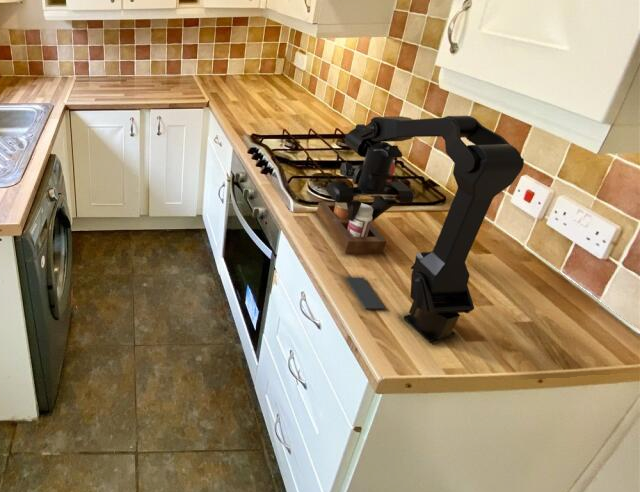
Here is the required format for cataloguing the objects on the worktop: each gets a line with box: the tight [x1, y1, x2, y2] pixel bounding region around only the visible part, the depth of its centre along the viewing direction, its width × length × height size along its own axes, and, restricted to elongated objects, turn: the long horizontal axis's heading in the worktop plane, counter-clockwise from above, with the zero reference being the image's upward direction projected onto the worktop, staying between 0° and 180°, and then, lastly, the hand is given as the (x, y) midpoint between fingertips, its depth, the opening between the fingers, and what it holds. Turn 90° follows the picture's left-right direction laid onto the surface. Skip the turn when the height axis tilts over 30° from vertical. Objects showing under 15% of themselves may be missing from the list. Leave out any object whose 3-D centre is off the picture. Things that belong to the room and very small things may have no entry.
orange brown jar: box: [333, 201, 349, 218], centre depth 113 cm, size 5×5×6 cm
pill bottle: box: [347, 202, 373, 237], centre depth 105 cm, size 5×5×8 cm
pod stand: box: [315, 201, 388, 255], centre depth 110 cm, size 10×17×4 cm, turn 0°
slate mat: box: [345, 277, 386, 311], centre depth 91 cm, size 9×4×1 cm, turn 179°
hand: (360, 220), depth 104 cm, fingers closed on pill bottle, 5 cm apart
